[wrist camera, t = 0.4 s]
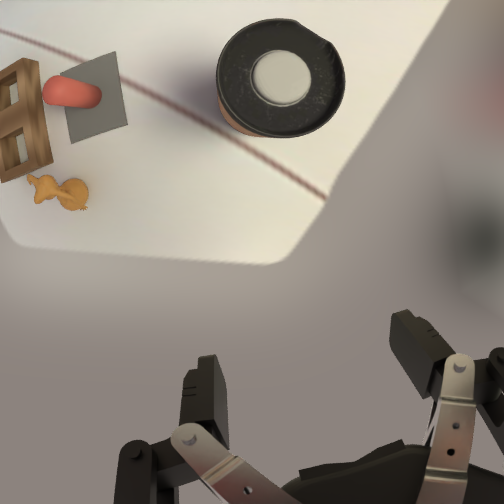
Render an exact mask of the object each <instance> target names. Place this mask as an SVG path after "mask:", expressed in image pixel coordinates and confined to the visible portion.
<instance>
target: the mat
mask: <svg viewBox="0 0 504 504" xmlns="http://www.w3.org/2000/svg"><path fill="white" fill-rule="evenodd" d="M60 76H63V77H67V78H70V79H74V80H78V81H81V82H85V83H88V84H91V85H95V86H97V87H99V88H100V90H101V92H102V98H101V101H100V103H99V104H98V105H97V106H96V107H94V108H90V109H89V108H80V107H70V106H65V112H66V118H67V124H68V130H69V135H70V140H71V144H72V143H75V142H78V141H80V140H83V139H86V138H89V137H92V136H94V135H97V134H100V133H103V132H106V131H109V130H112V129H115V128H119V127H122V126H125V125H128V124H127V119H126V113H125V108H124V102H123V96H122V91H121V84H120V78H119V71H118V65H117V57H116V52H115V51H114V52H111V53H108V54H106V55H103V56H100V57H98V58H95V59H93V60H90V61H88V62H85V63H83V64H80V65H78V66H76V67H73V68H71V69H69V70H66V71H64V72H62V73H60Z"/></svg>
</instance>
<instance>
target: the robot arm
mask: <svg viewBox="0 0 504 504" xmlns="http://www.w3.org/2000/svg"><path fill="white" fill-rule="evenodd" d="M389 342H390V347H391V350H392V351H393V353H394V355H395V356H396V358H397V359H398V361H399V362H400V364H401V366H402V367H403V369H404V370H405V372H406V373H407V375H408V376H409V378H410V379H411V381H412V383H413V384H414V386H415V387H416V389H417V391H418V392H419V394H420V395H421V397H422V399H425V398H428V397H430V396H432V398H433V402H432V406H431V411H430V416H429V420H428V424H427V428H426V433H425V436H424V439H423V442H422V445H415V444H411V445H404V443H403V441H402V439H401V440H398V441H395V442H393V443H390V444H387V445H385V446H382V447H379V448H377V449H375V450H374V451H372V452H371V453H369V454H367V455H366V456H364V457H362V458H360V459H359V460H357V461H355V462H347V463H333V464H323V465H319V466H315V467H311V468H306V469H302V470H299V474H300V476H299V477H297V478H295V479H293V480H291V481H290V482H288V483H287V484H285V485H284V486H283V487H282V488H279V487H278V486H277V485H275V484H274V483H273V482H271V481H270V480H269V479H268V478H266V477H265V476H264V475H262V474H261V473H260V472H259V471H257V470H256V469H255V468H253V467H252V466H251V465H250V464H249V463H247V462H246V461H245V460H244V459H242V458H241V457H239V456H234V455H232V453H230V452H229V451H228V450H229V434H228V433H229V432H228V410H227V389H226V383H225V379H224V376H223V373H222V370H221V368H220V365H219V362H218V359H217V356H216V355H215V354H214V355H208V356H201V357H199V358H198V368H197V369H192V370H189V371H188V373H187V374H186V376H185V378H184V381H183V390H182V400H181V411H180V421H179V427H177V428H176V429H175V430H174V431H173V433H172V435H171V437H170V438H168V439H166V440H164V441H161V442H158V443H155V444H152V445H149V444H148V443H147V442H145V441H142V440H134V441H131V442H128V443H127V444H125V445H124V446H123V447H122V449H121V451H120V454H119V461H118V468H117V476H116V485H115V494H114V504H179V489H178V486H181V485H184V484H187V483H190V482H193V481H195V480H198V479H199V480H200V481H201V482H202V483H203V484H204V485H205V486H206V487H207V488H208V489H209V490H210V491H211V492H212V493H213V494H214V495H215V496H216V497H217V498H218V499H219V500H220V501H221V502H222V503H223V504H504V471H503V475H500V474H497V473H494V472H492V471H489V470H486V469H483V468H480V467H478V466H475V465H472V464H470V463H469V459H470V453H471V447H472V440H473V433H474V425H475V416H476V408H477V410H478V411H479V413H480V415H481V416H482V418H483V420H484V421H485V423H486V425H487V426H488V428H489V430H490V432H491V433H492V435H493V437H494V439H495V440H496V442H497V444H498V446H499V448H500V449H501V451H502V453H503V455H504V395H503V393H504V348H503V347H499V348H495V349H493V350H492V351H491V352H490V355H489V358H486V359H480V360H472V359H471V358H470V357H469V356H467V355H464V354H456V353H455V352H454V350H453V349H452V348H451V347H450V346H449V344H448V343H447V342H446V341H445V340H444V339H443V338H442V337H441V335H439V333H438V332H437V331H436V330H435V329H434V327H433V326H432V325H431V324H430V323H429V322H428V321H427V320H425V319H423V318H421V317H415V316H414V315H413V314H412V313H411V312H410V311H409V310H408V309H406V310H403V311H400V312H396V313H393V314H392V316H391V327H390V337H389ZM502 391H503V393H502ZM503 469H504V462H503Z"/></svg>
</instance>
